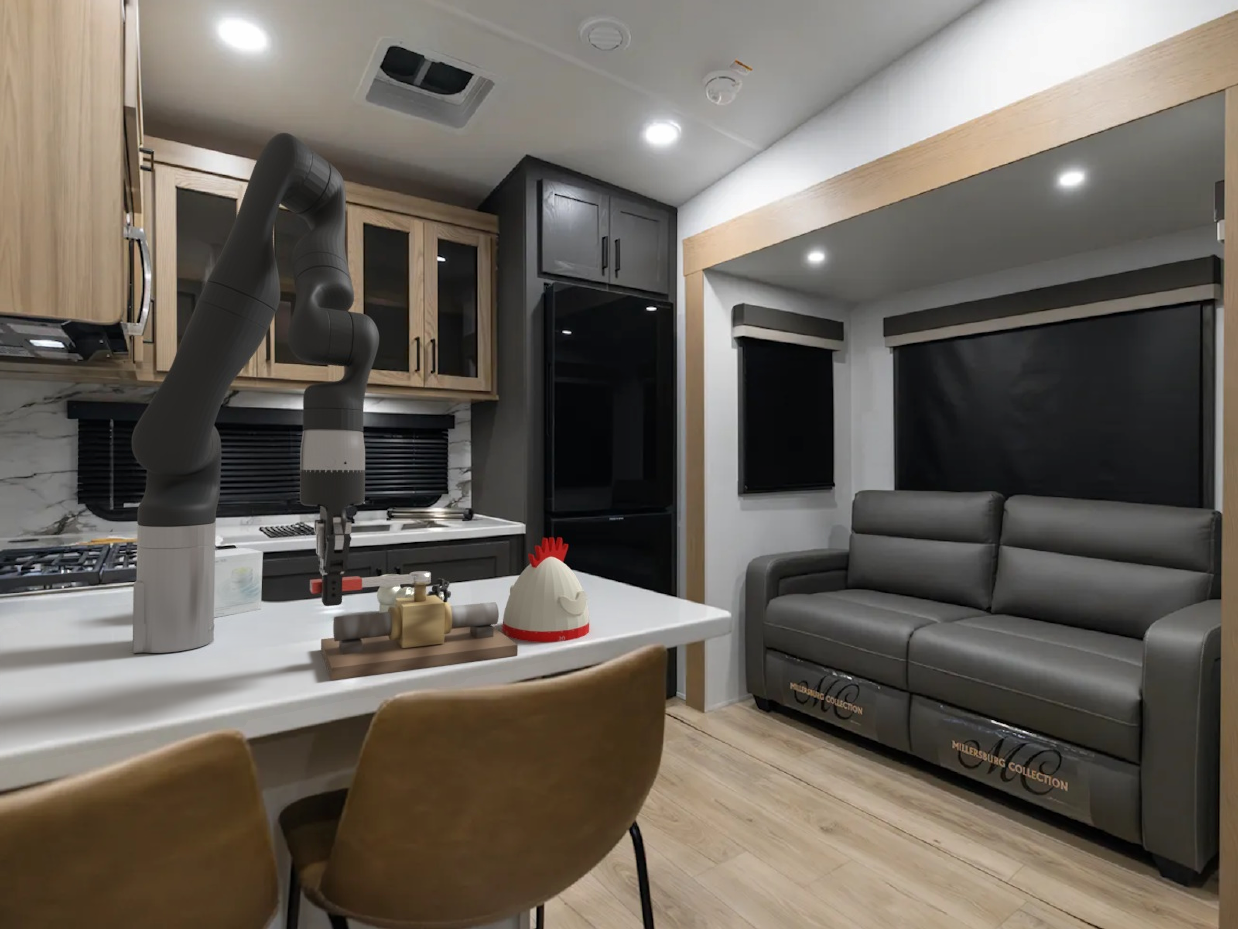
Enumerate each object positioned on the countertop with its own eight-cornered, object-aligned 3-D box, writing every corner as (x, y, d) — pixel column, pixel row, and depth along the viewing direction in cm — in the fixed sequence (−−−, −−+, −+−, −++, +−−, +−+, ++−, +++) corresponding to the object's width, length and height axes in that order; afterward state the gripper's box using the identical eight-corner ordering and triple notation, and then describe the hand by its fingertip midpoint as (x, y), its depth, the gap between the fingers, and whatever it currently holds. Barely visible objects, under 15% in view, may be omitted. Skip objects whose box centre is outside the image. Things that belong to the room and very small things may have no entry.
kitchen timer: (606, 630, 107) (608, 538, 106) (545, 648, 96) (548, 545, 96) (546, 615, 115) (548, 530, 115) (484, 630, 105) (486, 536, 105)
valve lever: (427, 580, 94) (427, 570, 94) (433, 583, 92) (433, 573, 91) (309, 590, 86) (309, 579, 86) (312, 594, 83) (312, 583, 83)
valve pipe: (331, 680, 80) (332, 602, 80) (321, 649, 92) (322, 582, 92) (517, 655, 92) (518, 587, 92) (486, 631, 104) (487, 571, 104)
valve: (368, 617, 112) (434, 621, 110) (368, 578, 112) (435, 582, 110) (387, 608, 118) (450, 612, 116) (388, 572, 118) (451, 575, 116)
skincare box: (199, 621, 106) (200, 557, 106) (179, 615, 109) (180, 553, 109) (263, 609, 115) (264, 549, 115) (242, 604, 118) (243, 546, 118)
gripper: (374, 467, 79) (373, 611, 79) (355, 467, 90) (354, 593, 90) (305, 467, 75) (304, 618, 75) (295, 467, 87) (294, 598, 86)
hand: (331, 604), depth 83 cm, fingers closed
